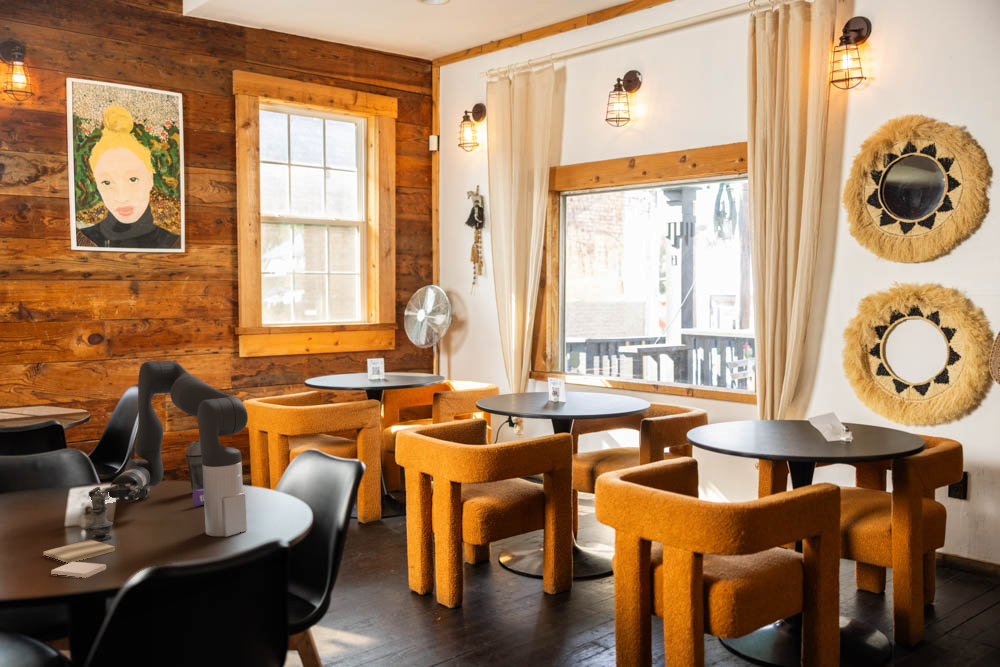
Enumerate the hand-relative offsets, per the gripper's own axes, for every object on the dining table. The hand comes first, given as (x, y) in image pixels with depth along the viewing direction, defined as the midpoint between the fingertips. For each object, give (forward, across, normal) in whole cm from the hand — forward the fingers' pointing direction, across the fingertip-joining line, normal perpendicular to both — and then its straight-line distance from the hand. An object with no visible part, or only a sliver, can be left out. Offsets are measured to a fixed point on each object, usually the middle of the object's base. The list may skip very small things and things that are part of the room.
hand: (112, 499), depth 223 cm
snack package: (-19, +21, +7) cm, 29 cm away
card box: (+36, +3, +8) cm, 37 cm away
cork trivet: (+22, -1, +7) cm, 23 cm away
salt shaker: (+11, 0, +7) cm, 13 cm away
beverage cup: (-33, +16, +7) cm, 37 cm away
